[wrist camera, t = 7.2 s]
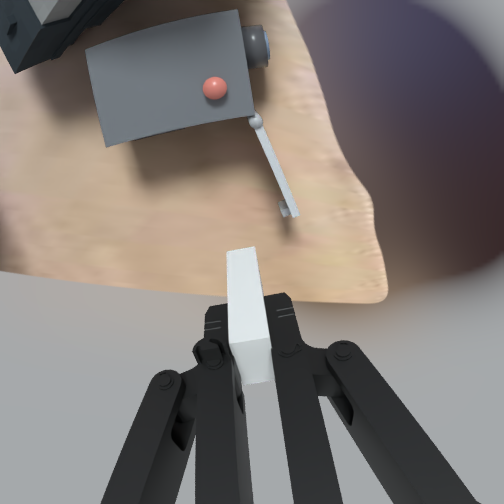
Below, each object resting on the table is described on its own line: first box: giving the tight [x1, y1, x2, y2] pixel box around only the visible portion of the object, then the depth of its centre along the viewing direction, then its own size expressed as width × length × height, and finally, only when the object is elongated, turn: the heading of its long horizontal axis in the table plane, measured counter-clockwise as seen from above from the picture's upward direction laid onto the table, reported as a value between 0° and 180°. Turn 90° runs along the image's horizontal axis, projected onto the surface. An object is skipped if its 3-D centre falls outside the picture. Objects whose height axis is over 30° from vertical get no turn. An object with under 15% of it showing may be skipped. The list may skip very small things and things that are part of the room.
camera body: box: [85, 9, 270, 147], centre depth 27 cm, size 16×10×8 cm, turn 98°
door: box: [247, 110, 300, 218], centre depth 32 cm, size 11×2×6 cm, turn 23°
